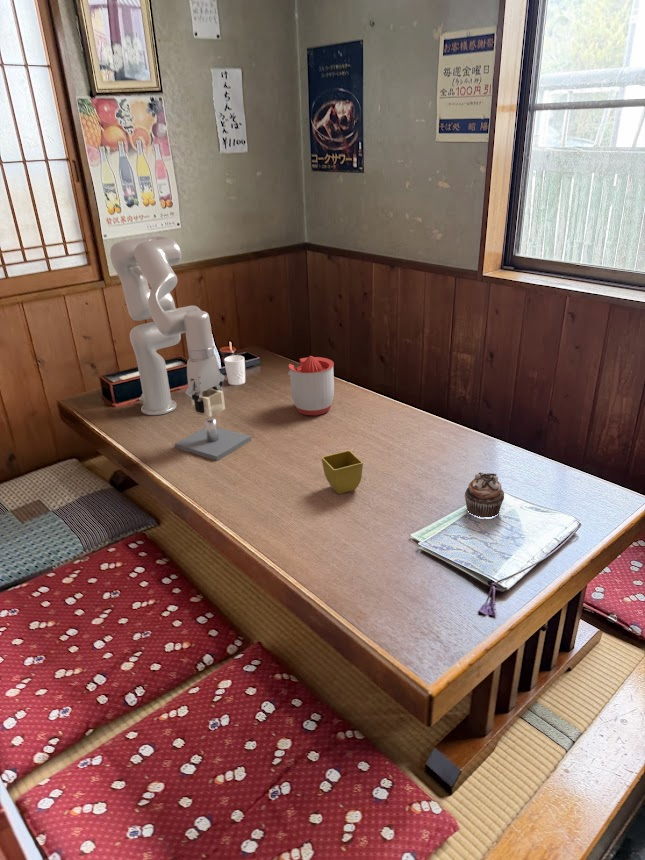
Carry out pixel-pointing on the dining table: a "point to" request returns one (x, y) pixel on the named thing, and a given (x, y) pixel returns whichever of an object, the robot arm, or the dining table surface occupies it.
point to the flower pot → (342, 471)
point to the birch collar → (211, 402)
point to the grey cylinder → (211, 429)
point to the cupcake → (484, 495)
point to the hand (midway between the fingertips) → (208, 407)
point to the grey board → (213, 443)
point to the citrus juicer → (312, 385)
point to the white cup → (235, 369)
